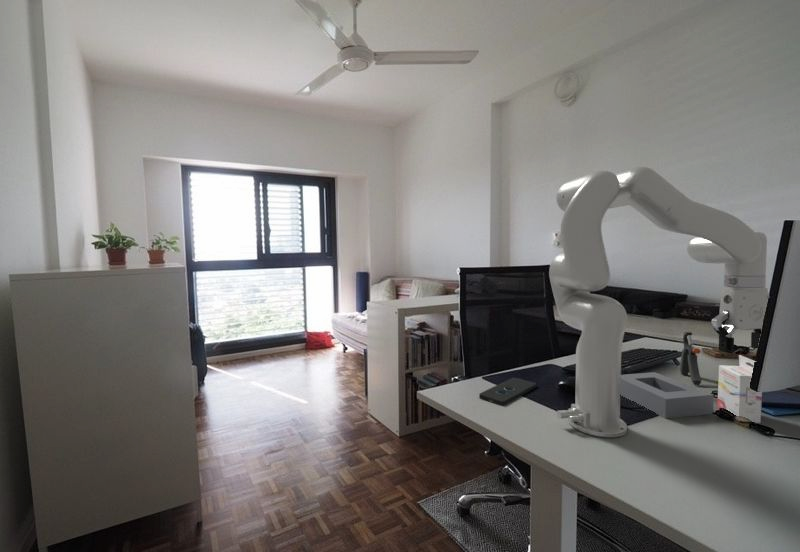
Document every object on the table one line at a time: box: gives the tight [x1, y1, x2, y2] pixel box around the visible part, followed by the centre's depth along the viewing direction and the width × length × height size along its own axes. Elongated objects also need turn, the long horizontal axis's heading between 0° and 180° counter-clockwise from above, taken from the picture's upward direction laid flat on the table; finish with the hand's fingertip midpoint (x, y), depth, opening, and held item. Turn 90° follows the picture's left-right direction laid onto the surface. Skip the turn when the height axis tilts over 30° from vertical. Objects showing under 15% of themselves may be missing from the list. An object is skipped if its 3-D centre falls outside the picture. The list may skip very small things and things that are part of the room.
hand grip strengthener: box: [679, 331, 702, 386], centre depth 119 cm, size 2×12×15 cm, turn 159°
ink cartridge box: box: [716, 354, 763, 424], centre depth 93 cm, size 9×5×15 cm, turn 168°
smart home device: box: [478, 377, 537, 406], centre depth 112 cm, size 8×2×20 cm
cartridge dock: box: [620, 372, 715, 419], centre depth 103 cm, size 14×18×5 cm
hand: (742, 350), depth 93 cm, fingers open, 9 cm apart
